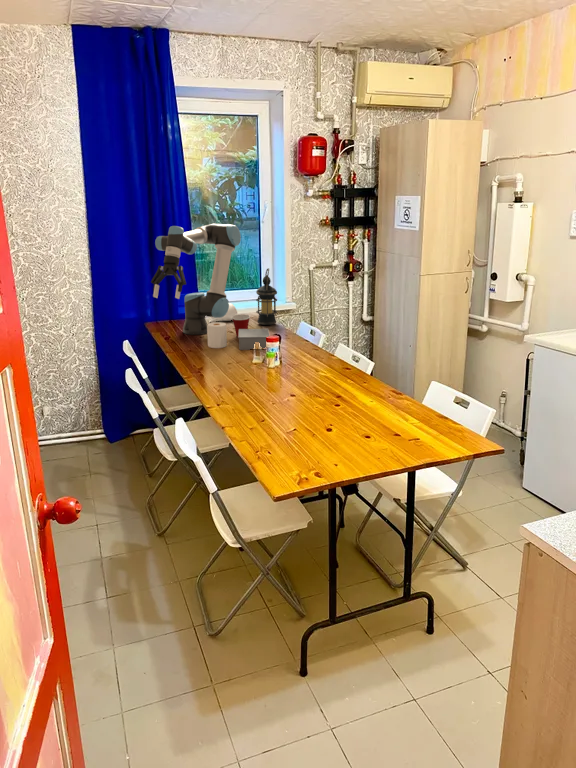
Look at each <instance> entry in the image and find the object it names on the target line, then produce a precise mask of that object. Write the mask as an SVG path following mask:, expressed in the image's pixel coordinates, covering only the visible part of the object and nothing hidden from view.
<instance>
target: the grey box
mask: <svg viewBox="0 0 576 768" xmlns="http://www.w3.org/2000/svg"><path fill="white" fill-rule="evenodd" d="M268 336H270V331H269V328H248V329H239V336H238V337H237V338H238V347H239V348H238V349H239V350H240V351H246V350H247V351H251V350H250V349H253V348H254V344H255V342H259V343H260V346H261V347H262V348H265V347H266V337H268Z"/></svg>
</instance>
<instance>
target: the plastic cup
mask: <svg viewBox="0 0 576 768" xmlns="http://www.w3.org/2000/svg"><path fill="white" fill-rule="evenodd" d="M232 319H233V320H232V321H233V327H234V331H235V336H236V338H238V336H239V329H249V323H250V319H251V315H250V314H247V313H246V314H243V313H240V314H239V313H238V315H234V316H232Z"/></svg>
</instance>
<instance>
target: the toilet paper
mask: <svg viewBox="0 0 576 768" xmlns="http://www.w3.org/2000/svg"><path fill="white" fill-rule="evenodd" d="M206 335H207V346H208V348H212V349H222V348H226V347H227V346H228V338H227V337H228V335H227V323H226V322H222V321H219V322H218V321H217V322H216V321H215V322H211V323H209V322H208V323H207V333H206Z"/></svg>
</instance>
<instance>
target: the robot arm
mask: <svg viewBox="0 0 576 768" xmlns="http://www.w3.org/2000/svg"><path fill="white" fill-rule="evenodd" d="M241 239H242V237H241V231H240V229H239V227H238V226H237V225H234V224H230V223H227V224H224V223H223V224H221V223H211V224H210V223H209V224H205V225H202V226H197V227H196V228H195V229H193V230H189V231H185V230H184V228H183V227H181V226H178V225H172V226H170V227H169V228H168V232H167V235H159V236H156V239H155V242H154V244H155V245H154V246H155V248H156V249H157V250H158V251H163V252H164V251H165V254H164V255H165V256H164V258H163V259H164V260H163V266H162V265H158V267H157V270H156V271H155V273H154V275H153V277H152V278H151V281H150V283H151V284H153V286H152V290H153V294H152V297H153V298H156V299H158V296H159V290H160V284H161V282H162V281H163V280H164V279H165V278H166V277H167V276H174V278H175V280H176V283H177V284H176V289H175V296H174V298H175V299H177V300H180V297H181V293H182V290H183V286H186V285H187V281H186V278H185V274H184V267H183V266H182V265H180V257H181V253H185V254H187V255H193V254H195V252H197V249H198V248H197V244H199V245H202V244H203V245H204V244H208V245H209V244H211V245H214V247H215V248H216V252H215V258H214V265H213V269H212V276H211V280H210V281H211V282H210V286H209V290H207V291H206V294H205V293H204V292H192V293H187V294H186V295H185V296H184V303H183V304H184V313H185V314H184V315H185V320H184V324H183V327H182V333H183V334H185V335H191V336H192V335H193V336H195V335H197V336H198V335H204V334H207V324H208V323H207V320H206V317H208V318H211V317H212V318H213V317H214V318H221V317H223V316H224V315H226V313H227V312H228V309H229V303H230V302H229V299H228V298H227V294H226V293H225V292H226V285H227V280H228V276H229V275H228V274H229V267H230V263H231V257H232V252H234V251H235V250H236V247H237V246H239V245H240V244H241Z"/></svg>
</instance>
